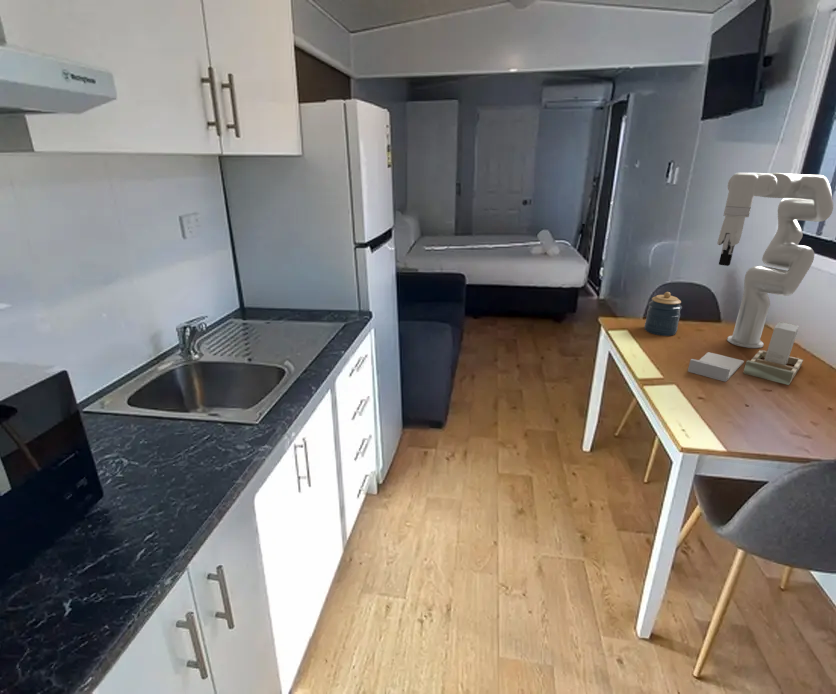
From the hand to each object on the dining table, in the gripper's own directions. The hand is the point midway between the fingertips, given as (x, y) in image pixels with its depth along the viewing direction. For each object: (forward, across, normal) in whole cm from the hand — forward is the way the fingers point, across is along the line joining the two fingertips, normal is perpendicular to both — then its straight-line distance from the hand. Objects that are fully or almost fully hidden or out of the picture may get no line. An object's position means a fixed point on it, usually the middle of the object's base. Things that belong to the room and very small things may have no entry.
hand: (724, 264), depth 175 cm
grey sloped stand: (+35, +9, +7) cm, 37 cm away
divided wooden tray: (+35, -4, +22) cm, 41 cm away
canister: (+35, -18, -22) cm, 45 cm away
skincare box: (+35, -8, +22) cm, 42 cm away
